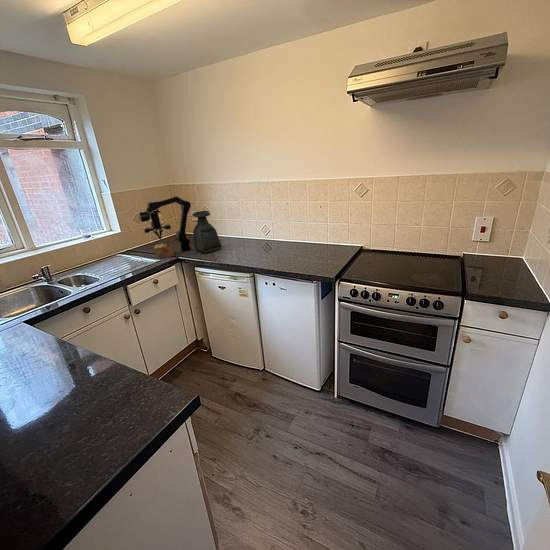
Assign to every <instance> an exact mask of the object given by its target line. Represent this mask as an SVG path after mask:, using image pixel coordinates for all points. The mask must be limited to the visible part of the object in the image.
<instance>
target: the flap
mask: <svg viewBox="0 0 550 550" xmlns="http://www.w3.org/2000/svg"><path fill="white" fill-rule="evenodd" d="M163 245H164V243H159V244H155V245H154V250H155V249H158V248H163Z"/></svg>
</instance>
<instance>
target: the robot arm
mask: <svg viewBox="0 0 550 550" xmlns="http://www.w3.org/2000/svg"><path fill="white" fill-rule="evenodd" d="M175 203H176V204H178V205H180V210H181V215H180V220H179V221H180V222H179V229H178V231H176V233H175V238H176V240H177V241H178V242H179V243H180V250H181V251H182V252H187V251H188V252H189V251H191V250H192V249H191V247H190V239H189V238H187V233H186V227H187V221H188V213H189V212H190V209H191V207H192V204H191V202H190V201H189V200H184V199H182V198H180V197H178V196H172V197H169V198H166V199H163V200H158V201H150V202H147V205H146V206H147V207H146V209H145V211H141V212H138V216H139V217H138V218H139V221H140V222H141V223H144V222H149V221H150V220H151V222H150V226H151V227H150V226H149V227H145V228H144V229H143V231H144V233H145V234H149V233H150V232H152V233H153V234H155V235H156V236H157V237H158V239H159V240H160V241H162V233H163V232H164V230H171V229H172V227H171V224H169V223H168V224H164V225H163V226H162V223H161V219H160V215H159V213H161V210H159V209H160V208H162V207H164V206H168V205H171V204H175Z"/></svg>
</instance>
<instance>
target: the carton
mask: <svg viewBox="0 0 550 550" xmlns="http://www.w3.org/2000/svg"><path fill="white" fill-rule="evenodd" d="M163 245H167V247H166V248H158V249H154V252H155V257H156V260H160V259H164V258H172V257H175V256H176V254H175V248H174V245H173V242H170V243H163Z"/></svg>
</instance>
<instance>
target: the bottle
mask: <svg viewBox="0 0 550 550" xmlns="http://www.w3.org/2000/svg"><path fill="white" fill-rule="evenodd" d="M191 215H192V217H194V218H197V223H196V224H195V225H194V228H193V230H192V236H193V248H194V249H195V250H196V251H197V252H198V253H199V252H200V253H201V254H203V255H204V254H208V253H213V252H215V251H216V252H217V251H219V250H220V249H221V247H222V244H221V240H220V238H219V234H218V232H217V229H216V228H215V227H214V226H213V225H212V224H211V223H210V222H209V220H208V219H207V217H208V216H211V212H209V211H208V210H199V211H195V212H193V213H192V214H191Z"/></svg>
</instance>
